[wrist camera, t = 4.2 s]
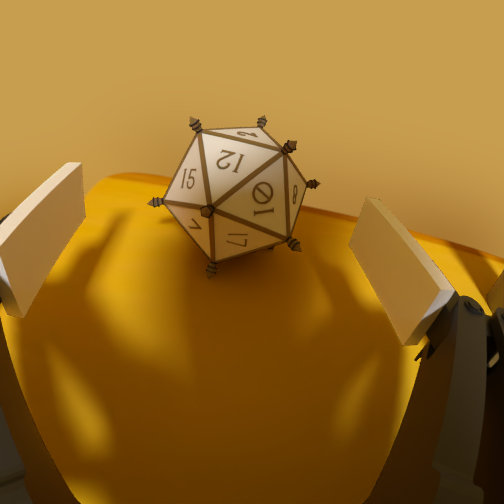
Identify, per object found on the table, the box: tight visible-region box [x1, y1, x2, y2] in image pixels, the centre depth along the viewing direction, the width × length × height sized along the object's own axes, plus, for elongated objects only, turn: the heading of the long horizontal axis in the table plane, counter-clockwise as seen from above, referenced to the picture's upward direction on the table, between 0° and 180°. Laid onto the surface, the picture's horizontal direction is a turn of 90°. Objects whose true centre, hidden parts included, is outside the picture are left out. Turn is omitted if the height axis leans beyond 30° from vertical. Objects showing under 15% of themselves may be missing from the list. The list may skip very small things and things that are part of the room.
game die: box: [147, 115, 320, 278], centre depth 17 cm, size 9×8×10 cm
